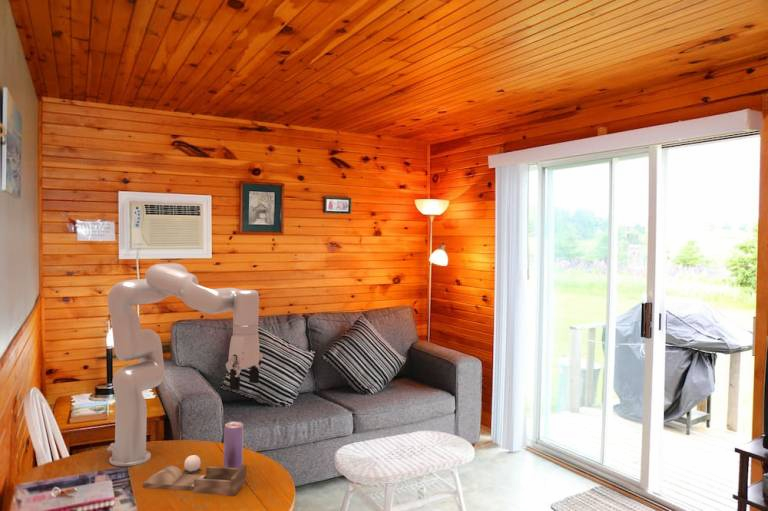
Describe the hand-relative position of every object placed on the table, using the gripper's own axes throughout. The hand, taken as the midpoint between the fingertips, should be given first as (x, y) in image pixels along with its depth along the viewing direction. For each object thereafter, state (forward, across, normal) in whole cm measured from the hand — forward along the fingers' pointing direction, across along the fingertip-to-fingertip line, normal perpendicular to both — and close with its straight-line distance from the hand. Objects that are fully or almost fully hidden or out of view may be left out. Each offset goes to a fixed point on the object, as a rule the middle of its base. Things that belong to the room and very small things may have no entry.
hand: (244, 386), depth 175 cm
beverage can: (+30, -6, -8) cm, 31 cm away
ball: (+29, +1, -19) cm, 35 cm away
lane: (+34, +8, -11) cm, 36 cm away
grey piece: (+30, +1, -19) cm, 35 cm away
